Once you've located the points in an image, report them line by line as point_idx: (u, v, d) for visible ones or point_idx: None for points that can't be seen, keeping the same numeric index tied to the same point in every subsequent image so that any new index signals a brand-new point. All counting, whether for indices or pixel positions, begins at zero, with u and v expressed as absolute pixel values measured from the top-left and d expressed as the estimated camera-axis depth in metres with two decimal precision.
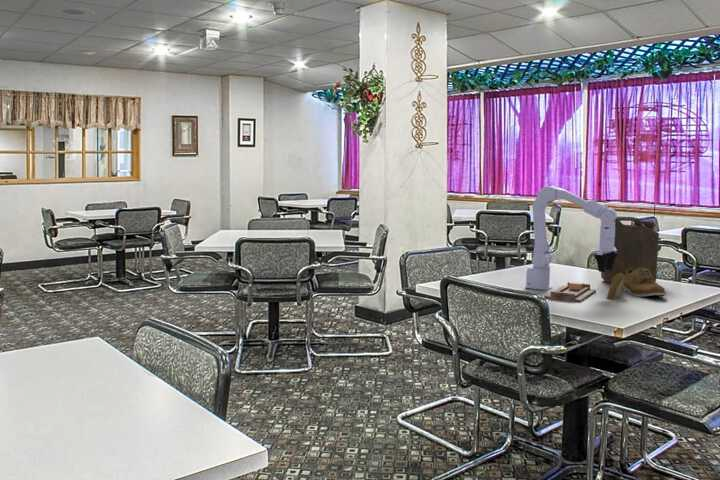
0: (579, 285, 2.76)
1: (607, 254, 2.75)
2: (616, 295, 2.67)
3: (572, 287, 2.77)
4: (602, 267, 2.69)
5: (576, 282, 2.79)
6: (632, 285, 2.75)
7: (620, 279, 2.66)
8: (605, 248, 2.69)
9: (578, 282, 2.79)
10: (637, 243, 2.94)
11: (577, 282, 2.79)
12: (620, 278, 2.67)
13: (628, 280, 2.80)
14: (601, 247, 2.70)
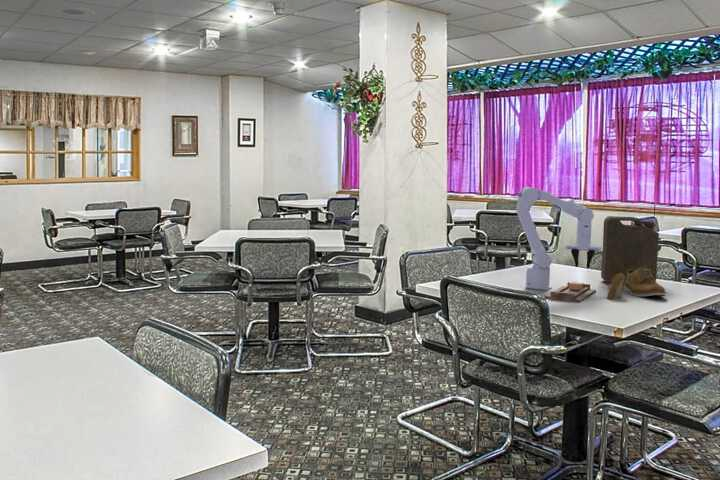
0: (579, 285, 2.76)
1: None
2: (616, 295, 2.67)
3: (572, 287, 2.77)
4: None
5: (576, 282, 2.79)
6: (632, 285, 2.75)
7: (620, 279, 2.66)
8: (576, 244, 2.85)
9: (578, 282, 2.79)
10: (637, 243, 2.94)
11: (577, 282, 2.79)
12: (620, 278, 2.67)
13: (629, 280, 2.80)
14: None
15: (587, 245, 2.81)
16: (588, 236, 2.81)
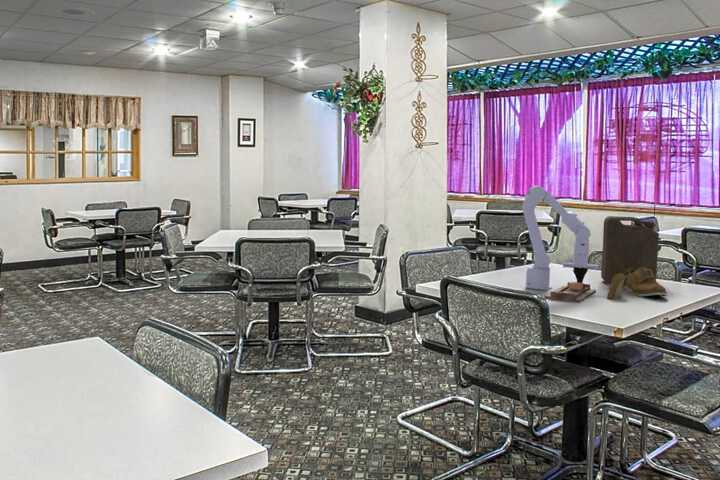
0: (579, 285, 2.76)
1: None
2: (616, 295, 2.67)
3: (572, 287, 2.77)
4: None
5: (576, 282, 2.79)
6: (633, 285, 2.76)
7: (620, 279, 2.66)
8: None
9: (578, 282, 2.79)
10: (637, 243, 2.94)
11: (577, 282, 2.79)
12: (620, 278, 2.67)
13: (630, 280, 2.81)
14: None
15: (584, 263, 2.80)
16: (585, 254, 2.79)
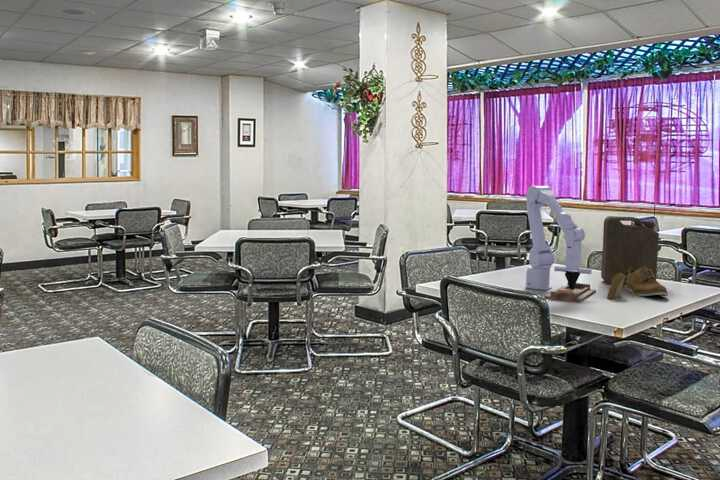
0: (568, 292, 2.61)
1: None
2: (616, 295, 2.67)
3: None
4: None
5: None
6: (634, 285, 2.76)
7: (620, 279, 2.66)
8: None
9: None
10: (637, 243, 2.94)
11: None
12: (620, 278, 2.67)
13: (630, 280, 2.81)
14: None
15: (577, 267, 2.69)
16: (578, 258, 2.68)
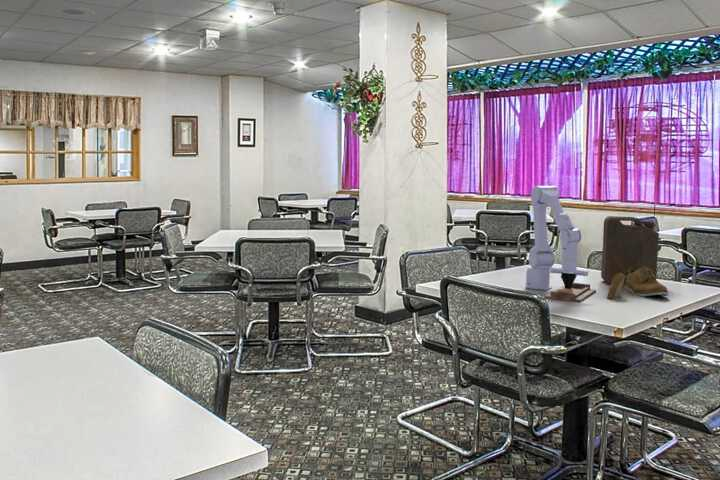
0: (568, 291, 2.61)
1: None
2: (616, 295, 2.67)
3: None
4: None
5: (565, 288, 2.65)
6: (634, 285, 2.76)
7: (620, 279, 2.66)
8: (561, 268, 2.68)
9: None
10: (637, 243, 2.94)
11: (566, 288, 2.65)
12: (620, 278, 2.67)
13: (630, 280, 2.81)
14: None
15: (573, 269, 2.64)
16: (574, 259, 2.64)
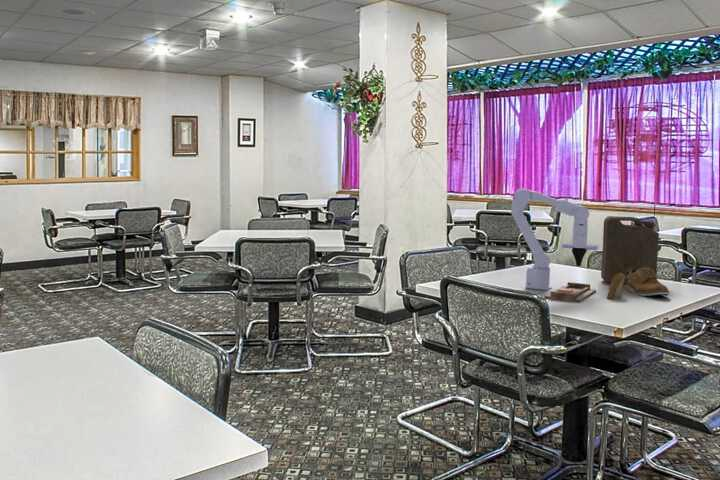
0: (568, 291, 2.61)
1: None
2: (616, 295, 2.67)
3: None
4: None
5: (565, 288, 2.65)
6: (635, 284, 2.76)
7: (620, 279, 2.66)
8: None
9: None
10: (637, 243, 2.94)
11: (566, 288, 2.65)
12: (620, 278, 2.67)
13: (631, 279, 2.82)
14: None
15: (583, 244, 2.79)
16: (584, 235, 2.78)
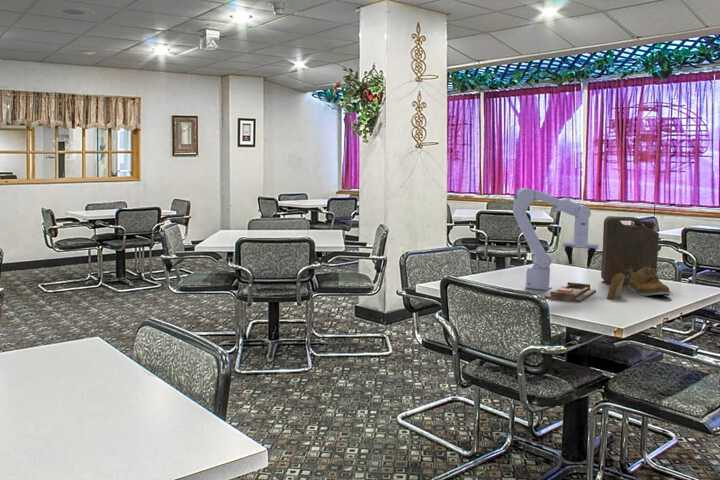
0: (568, 291, 2.61)
1: None
2: (616, 295, 2.67)
3: None
4: None
5: (565, 288, 2.65)
6: (637, 284, 2.77)
7: (620, 279, 2.66)
8: None
9: None
10: (637, 243, 2.94)
11: (566, 288, 2.65)
12: (620, 278, 2.67)
13: (633, 279, 2.82)
14: None
15: (584, 243, 2.81)
16: (585, 234, 2.81)
